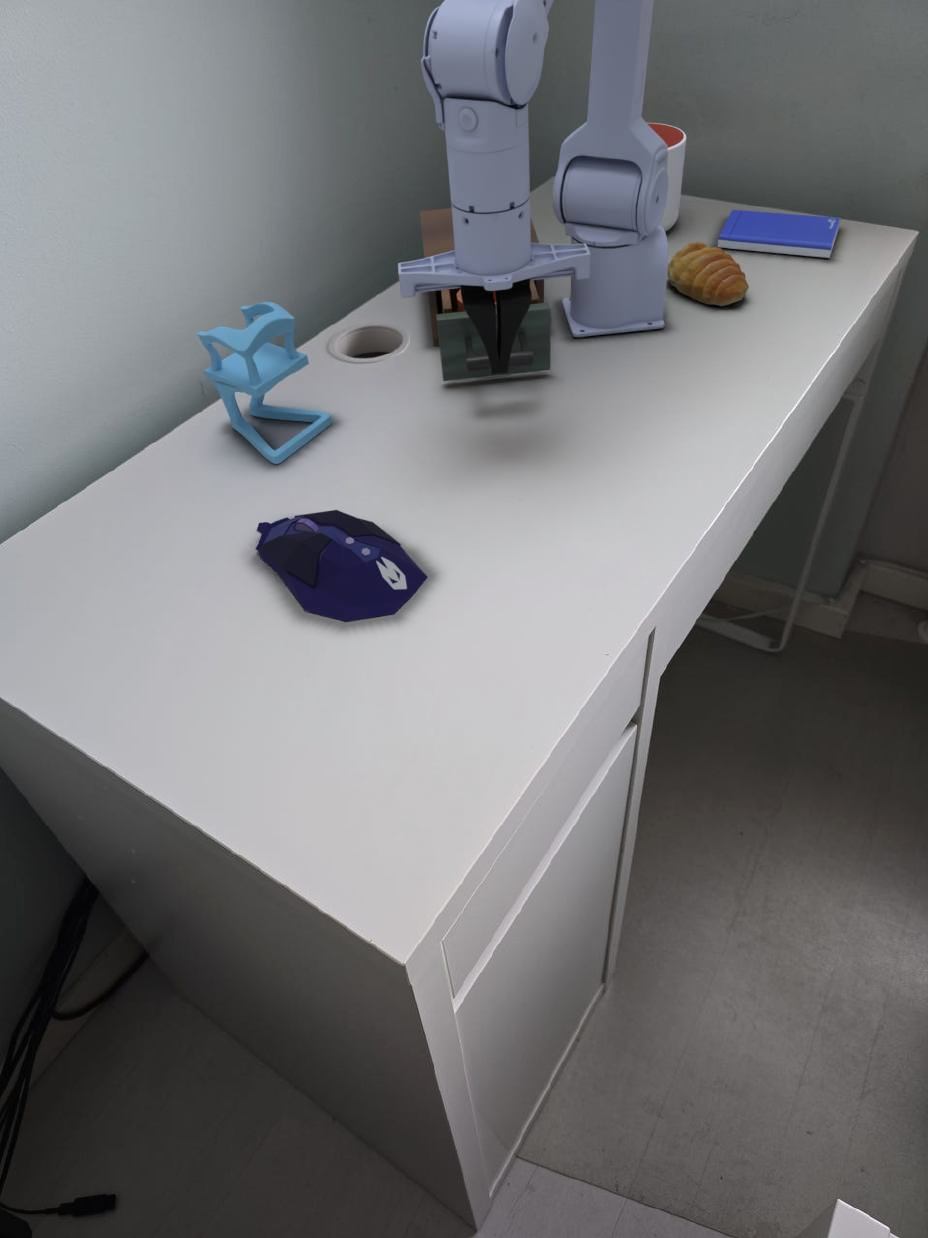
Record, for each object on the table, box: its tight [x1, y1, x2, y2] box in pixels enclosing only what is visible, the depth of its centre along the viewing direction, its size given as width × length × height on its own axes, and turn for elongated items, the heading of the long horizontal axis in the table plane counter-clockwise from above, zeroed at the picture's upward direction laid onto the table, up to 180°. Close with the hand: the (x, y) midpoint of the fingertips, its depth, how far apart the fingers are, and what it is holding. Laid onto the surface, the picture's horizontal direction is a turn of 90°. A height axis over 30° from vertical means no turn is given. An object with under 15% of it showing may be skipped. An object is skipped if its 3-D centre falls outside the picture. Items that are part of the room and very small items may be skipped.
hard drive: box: [716, 209, 842, 259], centre depth 101 cm, size 2×8×12 cm
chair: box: [197, 301, 332, 465], centre depth 77 cm, size 8×8×12 cm
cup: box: [646, 122, 687, 233], centre depth 104 cm, size 10×10×10 cm
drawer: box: [436, 280, 552, 382], centre depth 85 cm, size 18×10×6 cm, turn 4°
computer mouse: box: [254, 509, 428, 622], centre depth 66 cm, size 9×15×4 cm, turn 58°
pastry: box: [667, 241, 749, 307], centre depth 93 cm, size 9×7×4 cm
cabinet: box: [419, 207, 545, 347], centre depth 93 cm, size 15×12×8 cm
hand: (498, 367), depth 73 cm, fingers closed
